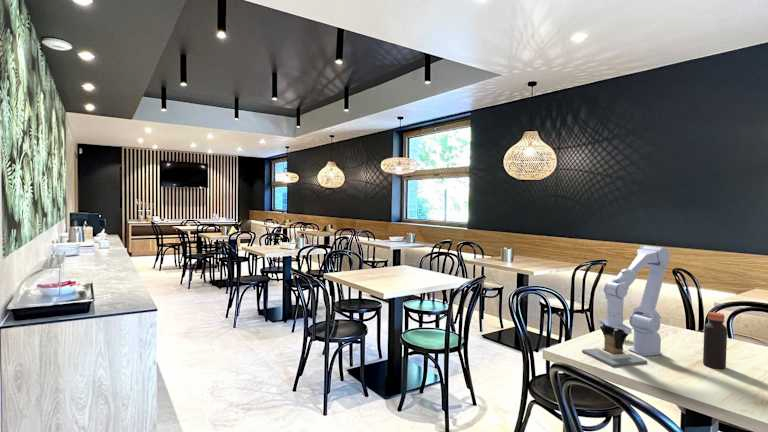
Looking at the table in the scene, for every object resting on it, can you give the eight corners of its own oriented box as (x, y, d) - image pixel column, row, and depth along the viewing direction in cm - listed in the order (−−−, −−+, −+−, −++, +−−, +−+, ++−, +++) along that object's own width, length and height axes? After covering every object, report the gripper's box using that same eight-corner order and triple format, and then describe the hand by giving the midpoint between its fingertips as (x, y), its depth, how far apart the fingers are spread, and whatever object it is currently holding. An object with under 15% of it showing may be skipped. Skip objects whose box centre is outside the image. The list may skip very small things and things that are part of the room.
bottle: (720, 370, 152) (722, 316, 151) (699, 364, 158) (701, 312, 158) (729, 367, 155) (731, 314, 155) (708, 361, 161) (710, 310, 161)
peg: (613, 350, 167) (614, 333, 167) (622, 354, 162) (623, 336, 162) (604, 351, 166) (604, 334, 165) (613, 355, 161) (613, 337, 161)
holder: (613, 349, 174) (614, 343, 174) (647, 363, 158) (647, 356, 158) (581, 352, 170) (582, 346, 170) (612, 367, 154) (613, 360, 154)
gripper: (592, 308, 170) (591, 341, 170) (621, 317, 156) (620, 353, 156) (606, 307, 171) (605, 339, 172) (636, 316, 157) (635, 352, 158)
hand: (613, 346), depth 164 cm, fingers closed on peg, 4 cm apart
